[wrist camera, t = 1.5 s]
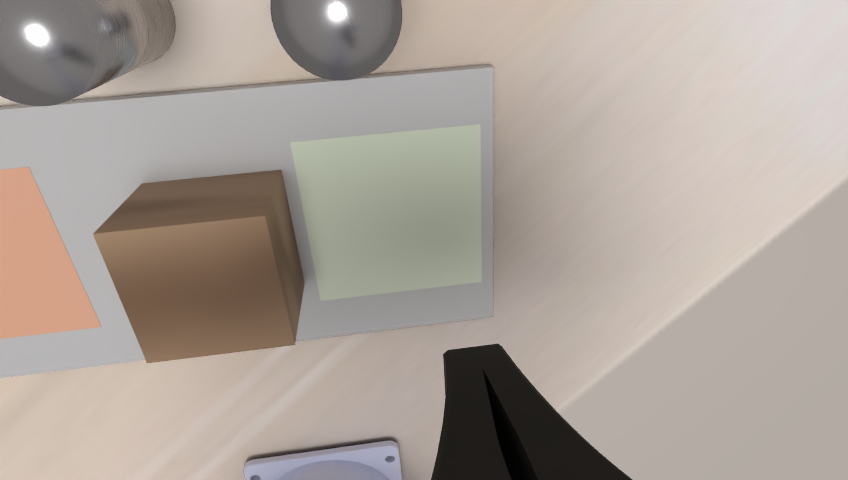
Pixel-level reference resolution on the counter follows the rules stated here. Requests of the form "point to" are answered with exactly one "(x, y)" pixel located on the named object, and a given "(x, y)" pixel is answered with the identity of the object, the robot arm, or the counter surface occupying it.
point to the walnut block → (206, 265)
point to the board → (245, 153)
